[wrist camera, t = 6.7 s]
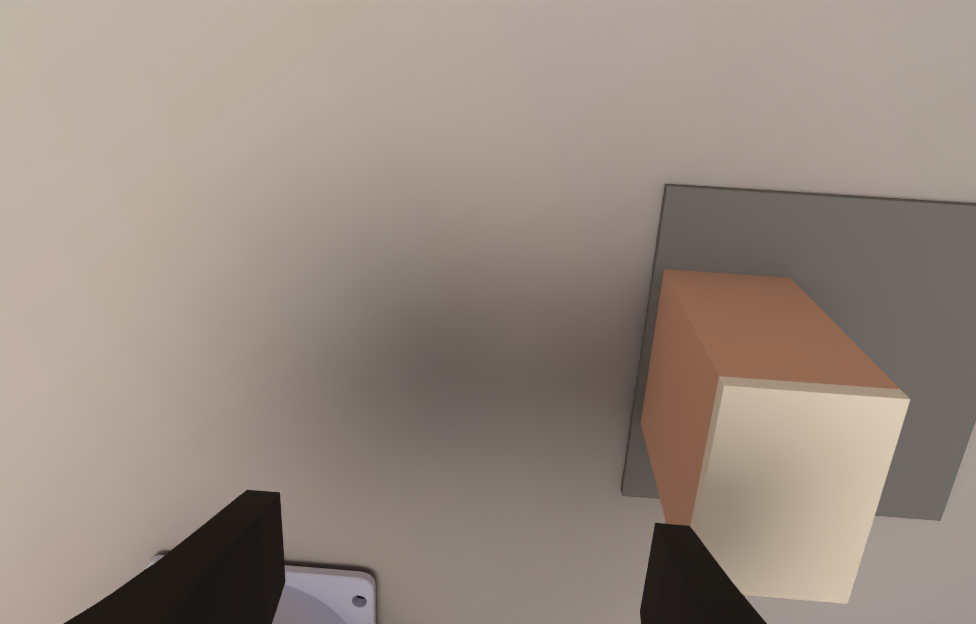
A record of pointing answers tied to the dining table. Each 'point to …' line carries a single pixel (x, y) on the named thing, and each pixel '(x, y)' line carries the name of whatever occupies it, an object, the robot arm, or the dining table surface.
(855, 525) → the block
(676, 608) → the robot arm
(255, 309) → the dining table surface
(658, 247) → the mat
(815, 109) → the dining table surface
